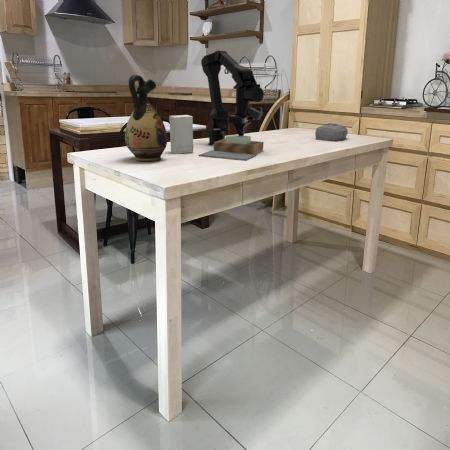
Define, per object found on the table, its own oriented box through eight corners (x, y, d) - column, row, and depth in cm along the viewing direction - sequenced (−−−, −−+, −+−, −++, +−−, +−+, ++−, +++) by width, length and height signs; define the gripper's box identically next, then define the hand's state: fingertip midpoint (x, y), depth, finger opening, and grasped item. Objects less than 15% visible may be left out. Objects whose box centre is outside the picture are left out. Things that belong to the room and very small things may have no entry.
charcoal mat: (198, 156, 167) (198, 154, 167) (211, 151, 178) (211, 150, 177) (246, 160, 160) (246, 159, 160) (256, 155, 171) (256, 154, 170)
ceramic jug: (144, 154, 168) (141, 74, 158) (176, 158, 161) (174, 75, 151) (114, 160, 154) (108, 73, 144) (146, 165, 147) (143, 74, 137)
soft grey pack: (337, 142, 213) (352, 138, 229) (339, 125, 211) (353, 123, 226) (310, 139, 222) (326, 136, 237) (311, 123, 219) (327, 120, 234)
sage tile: (225, 142, 176) (225, 136, 175) (230, 140, 181) (230, 134, 180) (246, 144, 173) (246, 138, 172) (250, 142, 178) (250, 136, 177)
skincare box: (188, 150, 179) (188, 114, 174) (193, 153, 174) (193, 115, 169) (169, 151, 175) (168, 115, 170) (174, 154, 170) (173, 116, 165)
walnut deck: (213, 151, 178) (213, 142, 176) (224, 147, 188) (224, 138, 187) (254, 155, 171) (254, 145, 170) (263, 151, 182) (263, 141, 180)
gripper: (254, 102, 164) (252, 142, 169) (267, 100, 180) (265, 137, 186) (227, 101, 168) (226, 140, 173) (243, 99, 184) (241, 135, 189)
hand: (241, 138), depth 180 cm, fingers closed
